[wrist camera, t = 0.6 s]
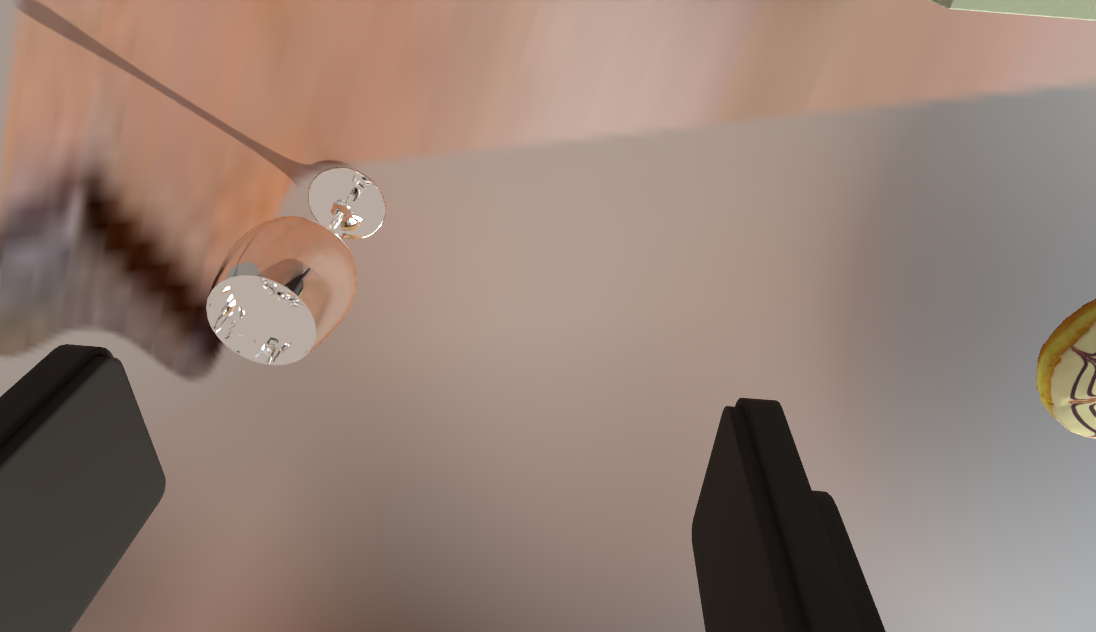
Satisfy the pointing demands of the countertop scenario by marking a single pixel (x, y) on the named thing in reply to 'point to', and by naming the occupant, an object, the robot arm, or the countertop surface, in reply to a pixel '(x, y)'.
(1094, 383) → the decorated donut
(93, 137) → the countertop surface
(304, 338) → the wineglass
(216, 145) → the countertop surface
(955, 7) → the green drawer cabinet
